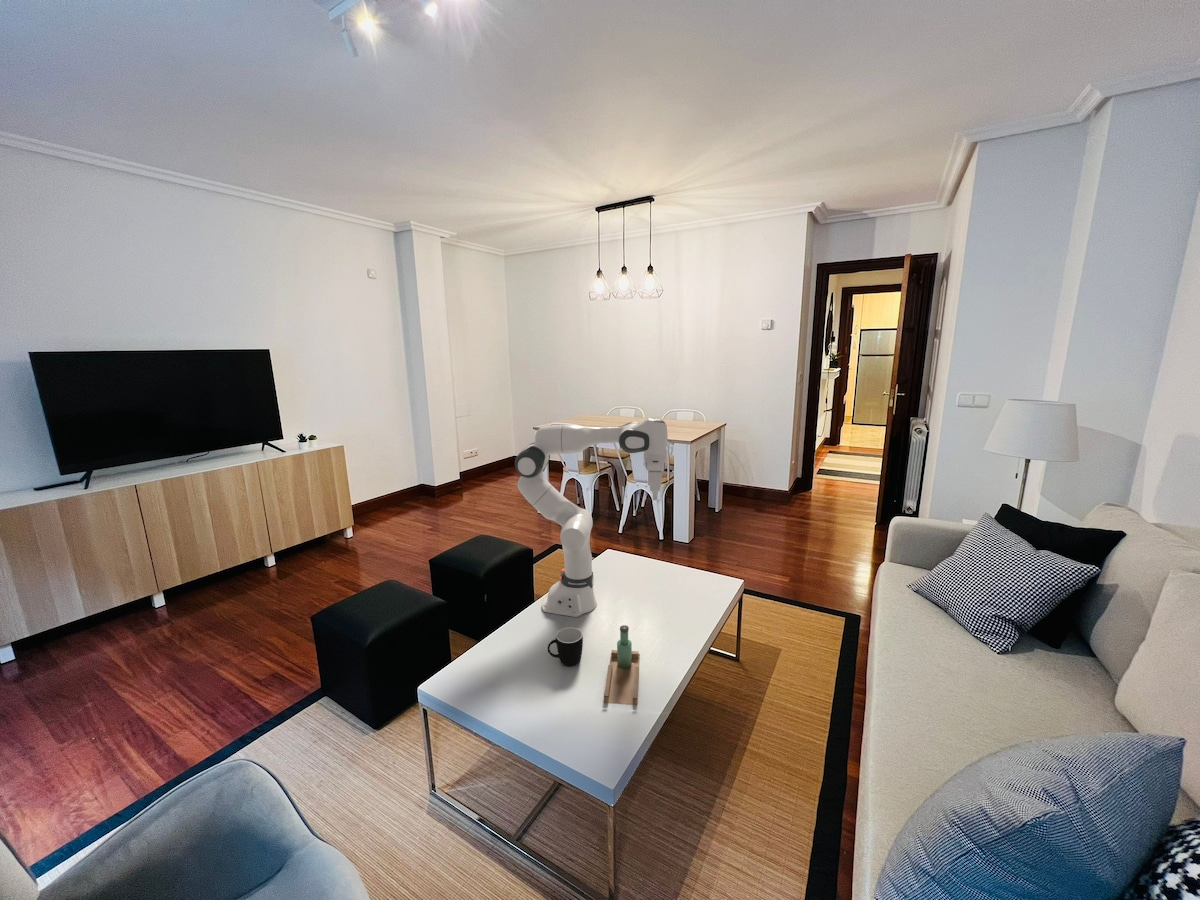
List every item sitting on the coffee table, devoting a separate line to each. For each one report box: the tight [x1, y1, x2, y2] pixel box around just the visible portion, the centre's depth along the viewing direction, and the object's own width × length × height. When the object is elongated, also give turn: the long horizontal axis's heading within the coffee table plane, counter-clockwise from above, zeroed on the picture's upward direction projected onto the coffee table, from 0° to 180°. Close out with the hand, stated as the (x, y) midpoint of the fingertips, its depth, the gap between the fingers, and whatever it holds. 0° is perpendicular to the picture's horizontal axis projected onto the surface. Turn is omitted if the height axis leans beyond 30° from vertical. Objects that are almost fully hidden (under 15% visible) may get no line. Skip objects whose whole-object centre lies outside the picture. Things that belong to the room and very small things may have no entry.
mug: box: [547, 626, 584, 668], centre depth 162 cm, size 12×9×10 cm
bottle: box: [616, 624, 633, 669], centre depth 159 cm, size 5×5×14 cm
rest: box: [603, 649, 641, 706], centre depth 155 cm, size 10×24×3 cm, turn 173°
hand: (655, 495), depth 184 cm, fingers open, 8 cm apart
